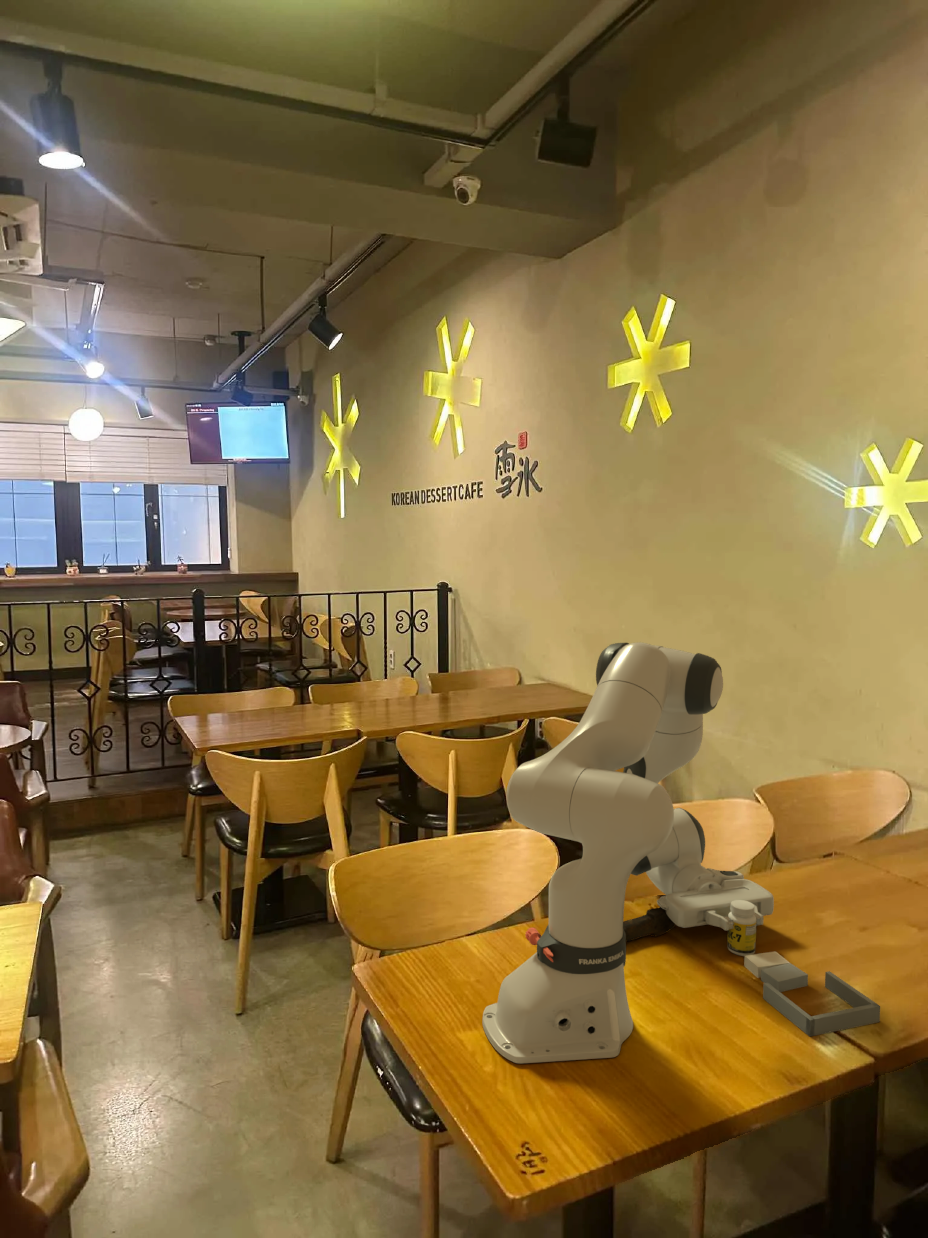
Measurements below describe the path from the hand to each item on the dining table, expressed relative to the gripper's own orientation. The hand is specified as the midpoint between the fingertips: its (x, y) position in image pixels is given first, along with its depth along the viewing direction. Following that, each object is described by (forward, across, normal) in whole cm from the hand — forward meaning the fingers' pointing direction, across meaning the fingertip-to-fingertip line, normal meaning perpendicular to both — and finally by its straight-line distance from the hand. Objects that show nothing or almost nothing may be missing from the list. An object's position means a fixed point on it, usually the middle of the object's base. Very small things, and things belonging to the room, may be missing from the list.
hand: (745, 923), depth 145 cm
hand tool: (-11, -16, +6) cm, 20 cm away
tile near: (+11, 0, +6) cm, 12 cm away
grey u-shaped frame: (+19, 0, +5) cm, 20 cm away
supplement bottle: (-1, 0, +6) cm, 6 cm away
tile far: (+6, 0, +6) cm, 8 cm away
